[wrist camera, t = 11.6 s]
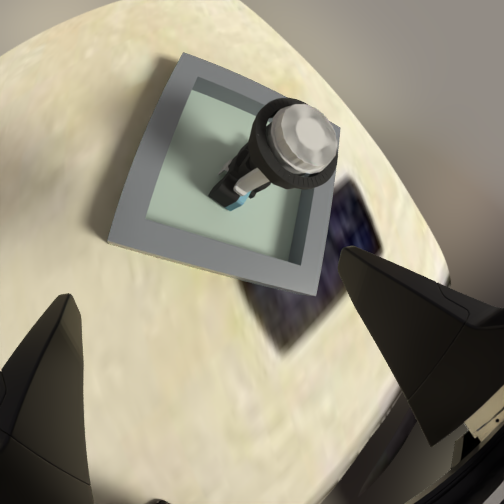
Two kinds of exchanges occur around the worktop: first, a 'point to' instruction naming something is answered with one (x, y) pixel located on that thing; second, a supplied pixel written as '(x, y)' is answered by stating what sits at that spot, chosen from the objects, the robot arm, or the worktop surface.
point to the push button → (280, 153)
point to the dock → (206, 177)
